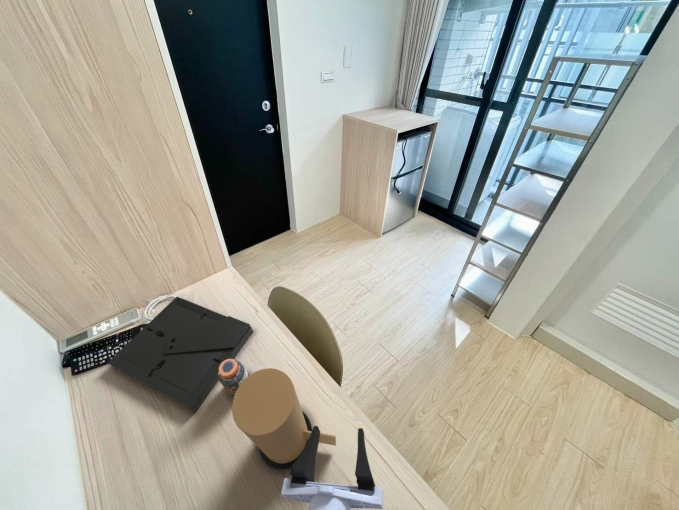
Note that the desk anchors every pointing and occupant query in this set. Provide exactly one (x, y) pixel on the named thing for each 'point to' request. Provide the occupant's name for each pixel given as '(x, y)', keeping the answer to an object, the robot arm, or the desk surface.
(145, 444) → the desk surface
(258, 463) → the desk surface
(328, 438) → the tan pedal trash can
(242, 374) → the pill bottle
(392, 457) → the desk surface
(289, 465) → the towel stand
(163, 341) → the picture frame
